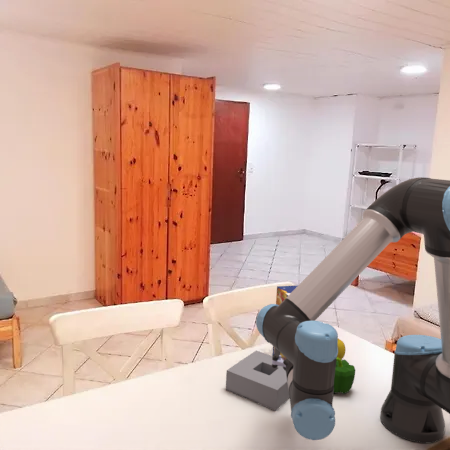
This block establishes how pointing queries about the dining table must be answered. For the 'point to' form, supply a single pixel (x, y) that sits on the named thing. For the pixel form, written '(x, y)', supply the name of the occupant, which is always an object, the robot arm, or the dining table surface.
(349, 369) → the bell pepper
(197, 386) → the dining table surface
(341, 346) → the lemon
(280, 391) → the hole block
